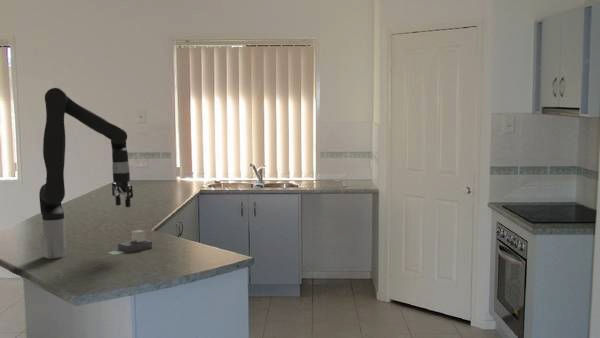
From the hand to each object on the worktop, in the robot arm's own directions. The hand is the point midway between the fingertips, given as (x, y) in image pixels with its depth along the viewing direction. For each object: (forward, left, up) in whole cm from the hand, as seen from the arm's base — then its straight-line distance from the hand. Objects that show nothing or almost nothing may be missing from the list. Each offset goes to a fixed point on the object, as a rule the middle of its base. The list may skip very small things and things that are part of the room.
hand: (123, 206), depth 303 cm
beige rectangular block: (+5, -5, -20) cm, 21 cm away
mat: (-7, -5, -20) cm, 22 cm away
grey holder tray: (+3, -5, -20) cm, 21 cm away
